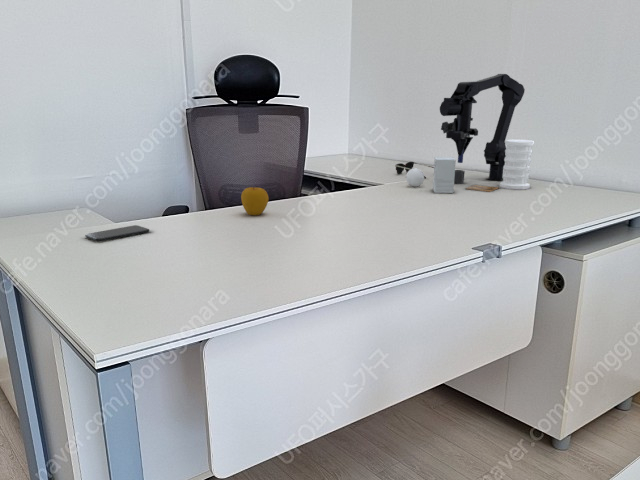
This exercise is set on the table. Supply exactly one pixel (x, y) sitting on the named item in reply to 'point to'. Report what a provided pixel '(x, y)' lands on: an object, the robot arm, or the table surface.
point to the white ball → (415, 177)
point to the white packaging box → (444, 174)
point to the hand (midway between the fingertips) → (460, 155)
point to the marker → (460, 158)
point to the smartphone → (117, 233)
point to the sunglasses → (406, 167)
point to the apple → (254, 200)
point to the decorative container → (517, 164)
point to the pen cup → (459, 177)
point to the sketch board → (482, 188)
